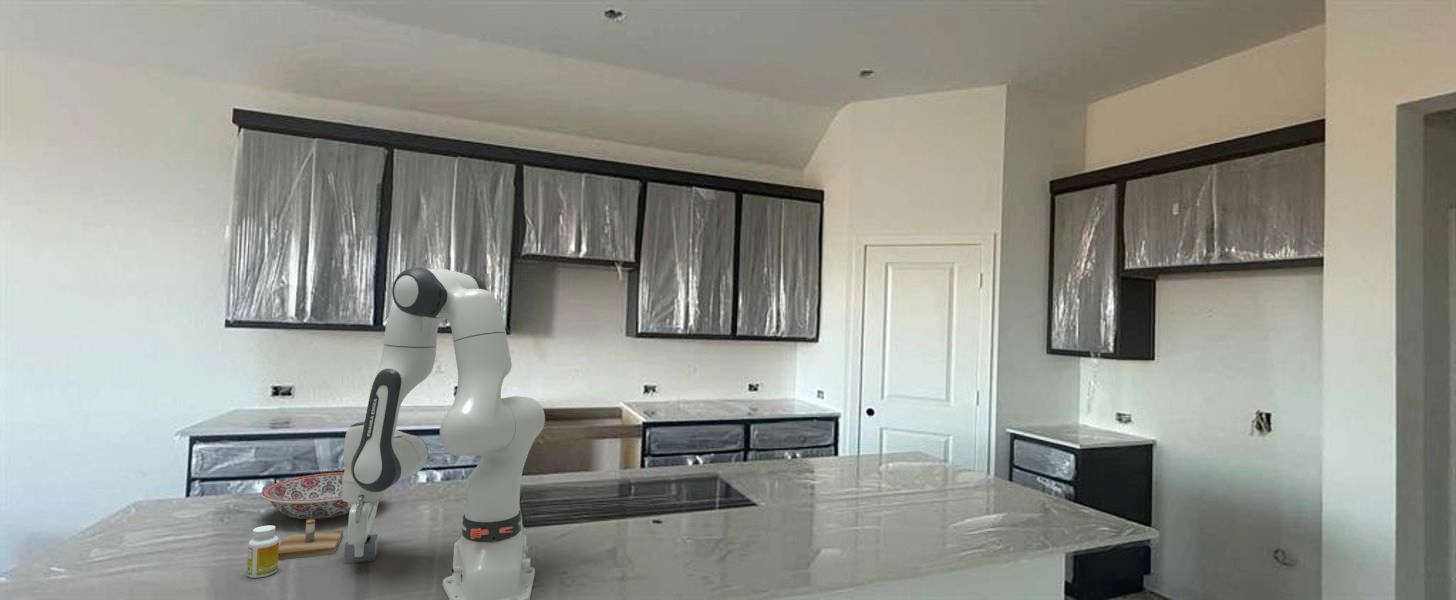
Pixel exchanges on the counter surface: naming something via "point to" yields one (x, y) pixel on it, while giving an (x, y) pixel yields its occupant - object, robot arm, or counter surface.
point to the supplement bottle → (263, 552)
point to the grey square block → (369, 550)
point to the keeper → (309, 543)
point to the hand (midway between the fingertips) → (361, 549)
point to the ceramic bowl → (309, 496)
